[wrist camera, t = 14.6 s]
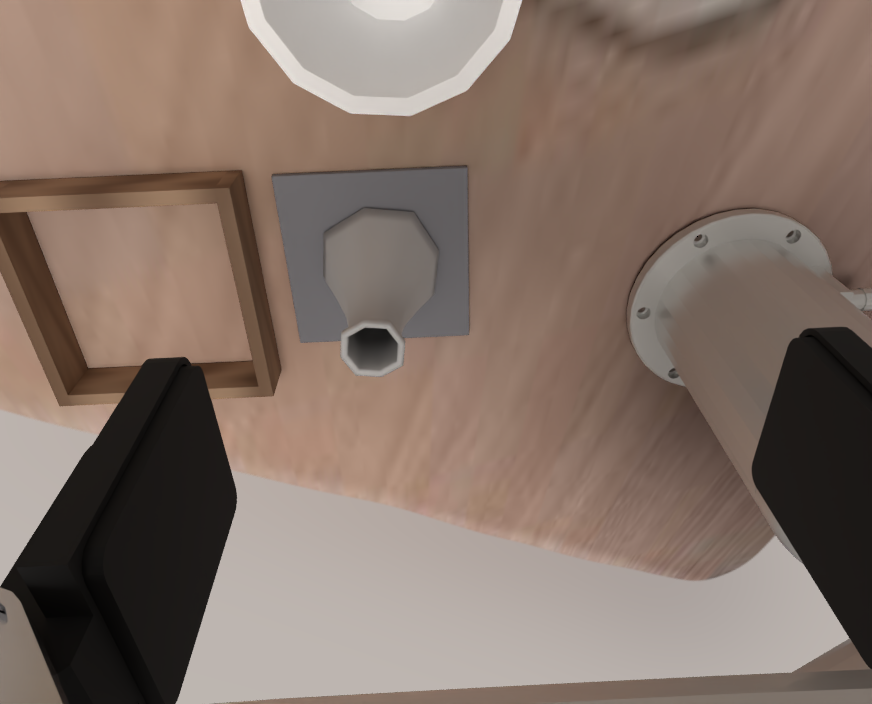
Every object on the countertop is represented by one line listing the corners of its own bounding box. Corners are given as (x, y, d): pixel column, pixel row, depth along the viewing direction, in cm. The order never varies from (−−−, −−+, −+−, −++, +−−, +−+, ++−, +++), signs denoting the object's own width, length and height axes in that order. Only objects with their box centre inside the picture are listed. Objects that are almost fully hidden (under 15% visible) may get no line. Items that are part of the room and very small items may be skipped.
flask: (424, 191, 37) (429, 267, 29) (451, 300, 41) (461, 394, 33) (304, 220, 38) (273, 301, 29) (341, 324, 42) (323, 422, 33)
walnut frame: (241, 170, 37) (229, 187, 34) (281, 369, 44) (273, 396, 41) (-1, 181, 37) (-32, 199, 34) (79, 378, 44) (59, 406, 41)
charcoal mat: (466, 165, 37) (467, 167, 37) (468, 331, 43) (469, 335, 42) (272, 174, 37) (271, 176, 36) (301, 339, 43) (300, 342, 42)
